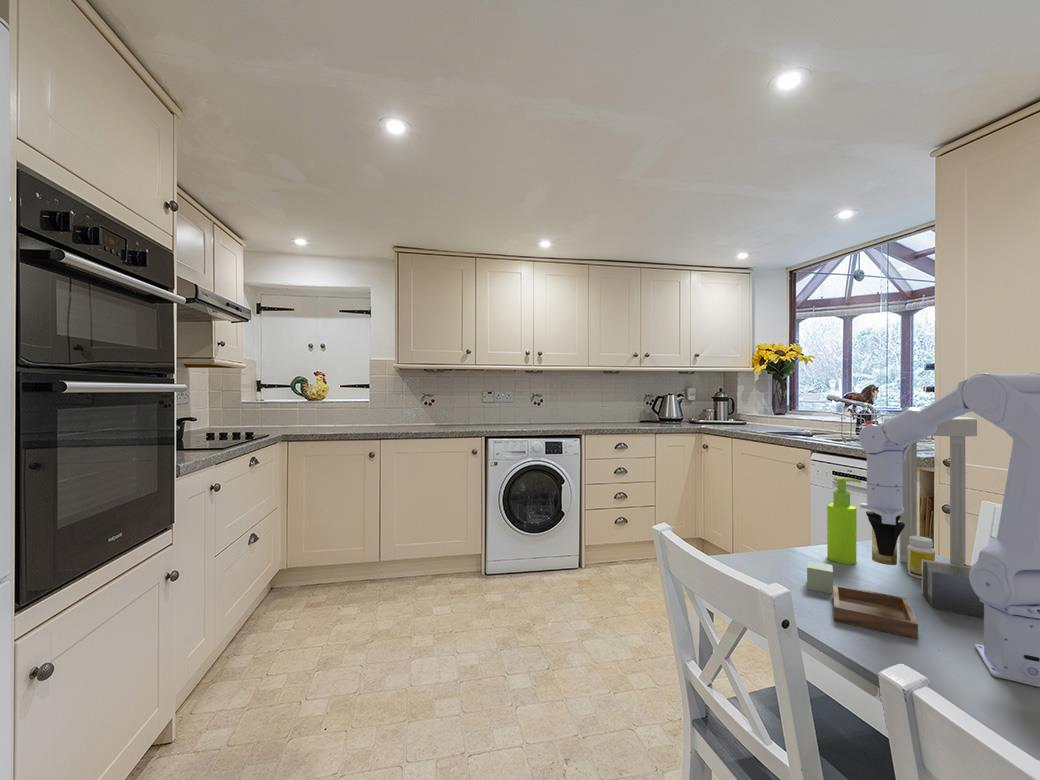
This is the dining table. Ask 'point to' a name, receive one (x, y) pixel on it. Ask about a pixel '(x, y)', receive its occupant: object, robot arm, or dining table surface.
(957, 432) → the stool
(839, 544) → the soap dispenser
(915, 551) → the supplement bottle
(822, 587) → the sage block
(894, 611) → the walnut tray
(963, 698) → the dining table surface
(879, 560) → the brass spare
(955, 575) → the block
